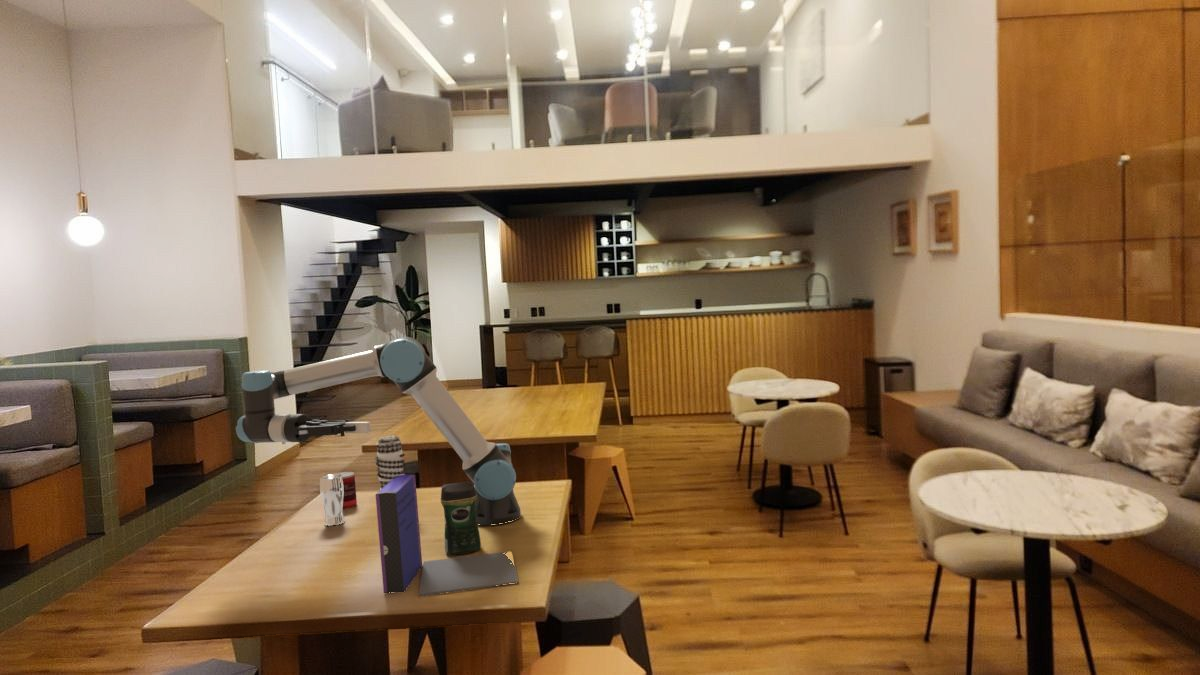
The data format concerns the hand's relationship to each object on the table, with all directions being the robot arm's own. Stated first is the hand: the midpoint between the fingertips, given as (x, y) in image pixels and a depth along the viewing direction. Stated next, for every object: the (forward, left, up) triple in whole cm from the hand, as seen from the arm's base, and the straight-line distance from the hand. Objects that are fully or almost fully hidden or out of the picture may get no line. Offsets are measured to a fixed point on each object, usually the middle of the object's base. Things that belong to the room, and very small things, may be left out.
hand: (368, 427), depth 195 cm
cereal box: (-7, +13, -36) cm, 40 cm away
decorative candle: (0, -48, -36) cm, 60 cm away
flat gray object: (-23, +15, -36) cm, 46 cm away
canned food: (+18, -64, -36) cm, 76 cm away
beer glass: (+18, -44, -36) cm, 60 cm away
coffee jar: (-22, -3, -36) cm, 42 cm away
